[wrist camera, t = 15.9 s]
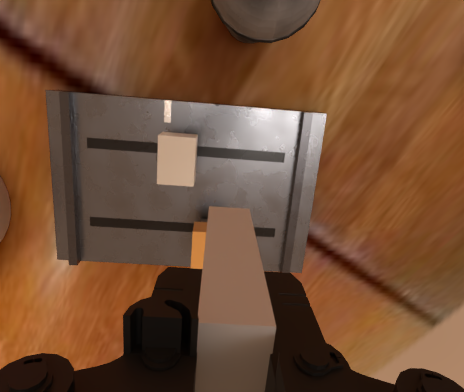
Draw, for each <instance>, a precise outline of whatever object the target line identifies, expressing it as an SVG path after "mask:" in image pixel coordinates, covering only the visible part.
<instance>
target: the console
mask: <svg viewBox="0 0 464 392" xmlns="http://www.w3.org/2000/svg"><path fill="white" fill-rule="evenodd" d="M46 102H47V117H48V131H49V145H50V160H51V174H52V188H53V203H54V217H55V231H56V246H57V259H60V260H69V265H78V264H79V262H80V261H96V262H114V263H133V264H151V265H169V266H187V267H191V252H192V234H193V227H194V221H195V222H200V221H201V218H202V219H208V211H209V206H215V207H230V208H244V209H250V214H251V218H252V222H253V227H254V231H255V235H256V240H257V244H258V248H259V253H260V257H261V262H262V266H263V270H264V271H278V272H281V273H290V272H296V273H302V267H303V261H304V255H305V248H306V242H307V236H308V229H309V223H310V217H311V211H312V204H313V198H314V192H315V185H316V179H317V173H318V166H319V160H320V154H321V148H322V141H323V135H324V129H325V122H326V116H327V114H325V113H320V112H308V111H296V110H284V109H272V108H261V107H249V106H237V105H225V104H213V103H202V102H190V101H178V100H166V99H154V98H143V97H131V96H119V95H107V94H95V93H84V92H72V91H60V90H46ZM162 132H172V133H185V134H197V135H198V141H197V159H196V177H195V183H194V187H190V186H176V185H161V184H157V156H158V135H159V134H160V133H162Z"/></svg>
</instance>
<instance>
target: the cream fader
mask: <svg viewBox="0 0 464 392" xmlns="http://www.w3.org/2000/svg"><path fill="white" fill-rule="evenodd" d="M197 141H198V135H197V134H185V133H172V132H162V133H160V134H159V135H158V156H157V184H161V185H176V186H190V187H194V183H195V177H196V159H197Z"/></svg>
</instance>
